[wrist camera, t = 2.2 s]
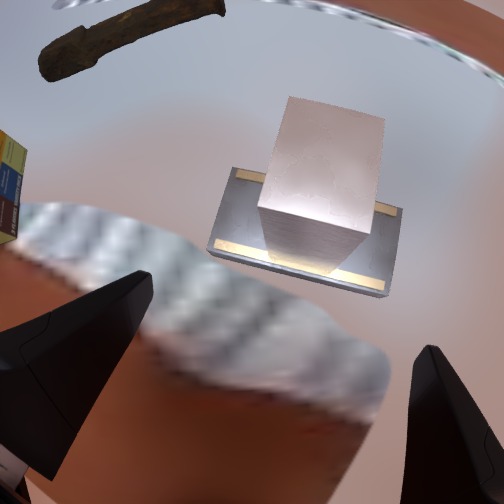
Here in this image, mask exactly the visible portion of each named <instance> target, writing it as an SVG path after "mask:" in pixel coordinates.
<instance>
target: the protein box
mask: <svg viewBox="0 0 504 504" xmlns="http://www.w3.org/2000/svg"><path fill="white" fill-rule="evenodd" d="M26 155H27V149H25V148H24V147H23V146H21V145H20V144H19V143H17V142H16V141H15V140H13V139H12V138H11V137H9V136H8V135H7V134H5V133H4V132H3V131H1V130H0V244H2V243H5V242H8V241H11V240H14V239H16V238H17V222H18V211H19V202H20V194H21V186H22V179H23V173H24V167H25V160H26Z"/></svg>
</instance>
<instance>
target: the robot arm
mask: <svg viewBox="0 0 504 504" xmlns="http://www.w3.org/2000/svg"><path fill="white" fill-rule="evenodd" d="M152 298H153V281H152V275H151V274H150V273H149V272H145V271H142V270H138V271H136V272H134V273H131V274H129V275H127V276H125V277H123V278H120V279H118V280H116V281H114V282H112V283H110V284H107V285H105V286H103V287H101V288H99V289H97V290H94V291H92V292H90V293H88V294H86V295H84V296H81V297H79V298H77V299H75V300H73V301H71V302H69V303H67V304H64V305H62V306H60V307H58V308H56V309H54V310H52V312H51V311H50V312H48V313H45V314H43V315H41V316H39V317H37V318H35V319H32V320H30V321H28V322H25V323H23V324H21V325H18V326H16V327H13V328H10V329H8V330H5V331H2V332H0V504H31V500H30V497H29V493H28V489H27V485H26V481H25V477H24V475H25V473H26V471H27V470H28V468H29V467H31V468H32V469H34V470H35V471H36V472H38V473H39V474H41V475H42V476H44V477H45V478H47V479H48V480H50V481H51V482H52V481H53V479H54V477H55V475H56V474H57V472H58V470H59V468H60V466H61V464H62V462H63V460H64V458H65V456H66V454H67V452H68V451H69V449H70V447H71V445H72V443H73V441H74V439H75V438H76V436H77V433H78V432H79V430H80V428H81V426H82V425H83V423H84V421H85V419H86V417H87V416H88V414H89V412H90V410H91V409H92V407H93V405H94V403H95V402H96V400H97V398H98V396H99V395H100V393H101V391H102V389H103V388H104V386H105V384H106V383H107V381H108V379H109V377H110V376H111V374H112V372H113V371H114V369H115V367H116V366H117V364H118V362H119V361H120V359H121V357H122V356H123V354H124V352H125V351H126V349H127V347H128V346H129V344H130V343H131V341H132V339H133V337H134V336H135V334H136V332H137V330H138V328H139V325H140V323H141V321H142V319H143V317H144V315H145V313H146V311H147V309H148V307H149V304H150V302H151V300H152ZM400 504H504V449H503V448H502V446H501V445H500V443H499V441H498V440H497V438H496V436H495V434H494V433H493V431H492V429H491V428H490V426H489V425H488V423H487V421H486V419H485V417H484V416H483V414H482V413H481V411H480V409H479V408H478V406H477V404H476V403H475V401H474V400H473V398H472V396H471V395H470V393H469V392H468V390H467V388H466V387H465V385H464V384H463V383H462V381H461V379H460V378H459V376H458V375H457V373H456V372H455V370H454V369H453V367H452V366H451V365H450V363H449V361H448V360H447V358H446V357H445V356H444V354H443V353H442V351H441V350H440V348H439V347H438V346H434V345H426V346H425V347H424V348H423V350H422V351H421V353H420V354H419V355H418V357H417V358H416V360H415V361H414V364H413V371H412V381H411V389H410V398H409V406H408V427H407V444H406V456H405V467H404V476H403V485H402V493H401V500H400Z"/></svg>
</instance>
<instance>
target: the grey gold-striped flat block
mask: <svg viewBox="0 0 504 504" xmlns="http://www.w3.org/2000/svg"><path fill="white" fill-rule="evenodd" d="M265 177H266V174H264V173H260V172H255V171H250V170H245V169H240V168H234V167H232V170H231V173H230V176H229V179H228V182H227V185H226V188H225V191H224V195H223V198H222V201H221V204H220V207H219V210H218V213H217V216H216V220H215V223H214V226H213V229H212V232H211V236H210V239H209V242H208V245H207V248H206V250H207V251H208V252H209V253H210V254H211V255H212V256H215V257H219V258H223V259H227V260H230V261H235V262H238V263H242V264H246V265H250V266H253V267H257V268H261V269H265V270H269V271H273V272H277V273H281V274H285V275H289V276H292V277H297V278H300V279H305V280H308V281H312V282H316V283H320V284H324V285H328V286H332V287H336V288H340V289H344V290H348V291H352V292H356V293H360V294H364V295H368V296H372V297H376V298H383V297H386V296H389V291H390V286H391V281H392V275H393V270H394V264H395V258H396V253H397V246H398V240H399V233H400V226H401V218H402V210H403V209H402V208H398V207H395V206H392V205H388V204H385V203H381V202H377V201H375V207H374V213H373V219H372V225H371V231H370V234H369V235H368V237H367V238H366V239H365V240H364V241H363V242H362V243H361V244H360V245H359V246H358V247H357V248H356V249H355V250H354V251H353V252H352V253H351V254H350V255H349V256H348V257H347V258H346V259H345V260H344V261H343V262H342V263H341V264H340V265H339V266H338V267H337V268H336V269H335V270H334V271H333V272H332V273H331V272H327V271H323V270H319V269H315V268H311V267H307V266H303V265H299V264H295V263H291V262H287V261H283V260H280V259H276V258H272V257H268V252H267V248H266V243H265V238H264V234H263V229H262V225H261V221H260V216H259V212H258V207H257V205H258V201H259V198H260V194H261V191H262V187H263V184H264V181H265Z"/></svg>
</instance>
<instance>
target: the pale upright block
mask: <svg viewBox="0 0 504 504" xmlns="http://www.w3.org/2000/svg"><path fill="white" fill-rule="evenodd" d="M384 121H385V119H383V118H379V117H376V116H372V115H369V114H365V113H361V112H358V111H354V110H350V109H346V108H342V107H338V106H333V105H329V104H325V103H320V102H315V101H311V100H306V99H301V98H296V97H290V96H289V99H288V102H287V106H286V109H285V112H284V116H283V119H282V122H281V126H280V129H279V133H278V136H277V140H276V143H275V146H274V150H273V153H272V157H271V160H270V163H269V167H268V171H267V174H266V177H265V181H264V184H263V187H262V191H261V194H260V198H259V201H258V205H257V207H258V212H259V216H260V221H261V225H262V229H263V234H264V238H265V243H266V248H267V252H268V257H272V258H276V259H280V260H283V261H287V262H291V263H295V264H299V265H303V266H307V267H311V268H315V269H319V270H323V271H327V272H331V273H332V272H333V271H334V270H335V269H336V268H337V267H338V266H339V265H340V264H341V263H342V262H343V261H344V260H345V259H346V258H347V257H348V256H349V255H350V254H351V253H352V252H353V251H354V250H355V249H356V248H357V247H358V246H359V245H360V244H361V243H362V242H363V241H364V240H365V239H366V238H367V237H368V235H369V234H370V231H371V225H372V219H373V213H374V207H375V199H376V193H377V186H378V179H379V170H380V162H381V154H382V144H383V133H384Z"/></svg>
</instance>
